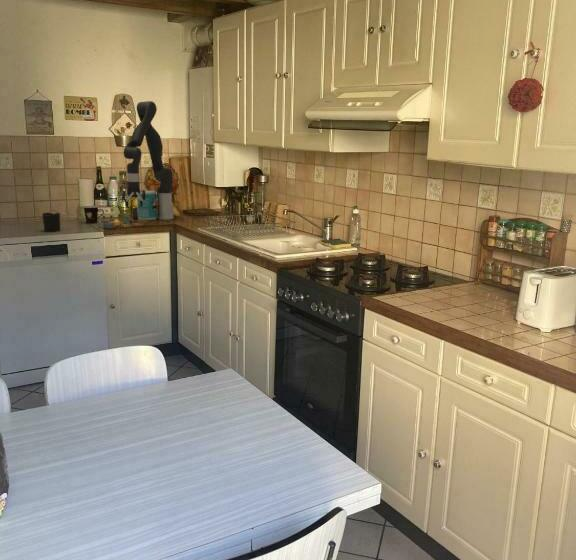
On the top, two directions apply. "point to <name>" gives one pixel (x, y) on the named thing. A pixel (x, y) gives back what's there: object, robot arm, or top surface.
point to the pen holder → (51, 222)
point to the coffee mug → (91, 214)
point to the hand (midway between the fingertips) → (134, 207)
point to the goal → (105, 224)
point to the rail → (129, 224)
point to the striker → (135, 217)
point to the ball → (116, 222)
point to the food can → (148, 206)
